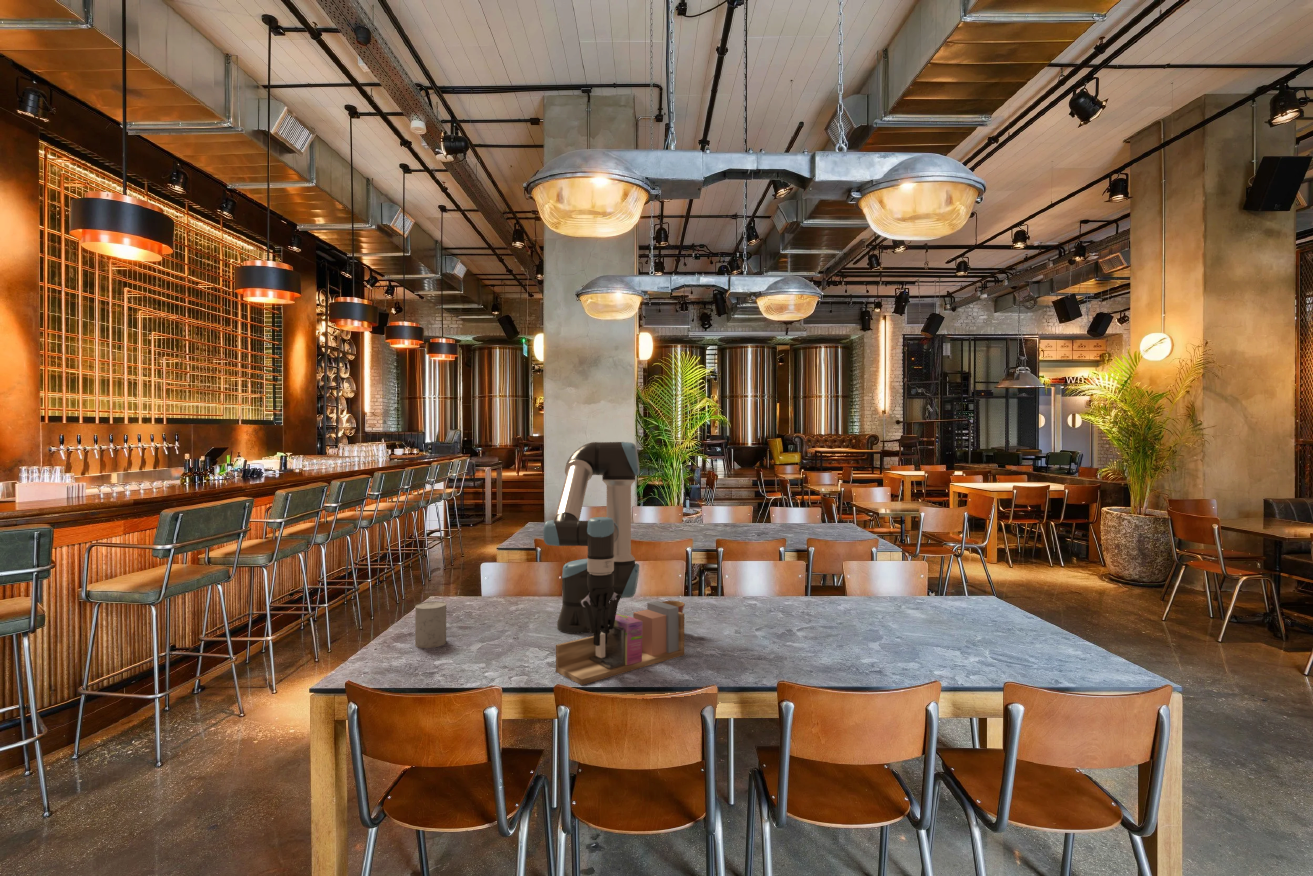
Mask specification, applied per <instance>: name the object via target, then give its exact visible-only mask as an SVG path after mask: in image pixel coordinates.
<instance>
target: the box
mask: <svg viewBox="0 0 1313 876" xmlns="http://www.w3.org/2000/svg"><path fill="white" fill-rule="evenodd" d="M614 626H617V627H620V628H623V629H625V665H626V666H628V665H632V664H636V663H639V662H642V621H640V620H638V619H635V618H633V617H632V616H630V615H626V614H623V613H616V617H615V622H614Z"/></svg>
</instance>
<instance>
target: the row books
mask: <svg viewBox="0 0 1313 876" xmlns="http://www.w3.org/2000/svg"><path fill="white" fill-rule="evenodd" d="M646 606H647V607H646V608H647V609H643V610H639V611H634V612H632V614H633V615H632V616H633V617H632V618H635V619H638V620H640V621H642V652H643V653H645V654H648V655H650V656H655V655H658V654H662V653H666V652H667V653H671V652H674V651H678V650H679V624H678V607H676V606H673V605H669V604H666V603H663V601H659V600H655V601H650V602H647V604H646Z"/></svg>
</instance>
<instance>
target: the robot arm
mask: <svg viewBox="0 0 1313 876" xmlns="http://www.w3.org/2000/svg"><path fill="white" fill-rule="evenodd" d="M639 459H640V458H639V455H638V450H637V445H635V443H633V442H629V441H626V442H625V441H612V442H611V441H609V442H608V441H605V442H603V441H602V442H601V441H600V442H599V441H592V442H587V443H586V444H583V445H582V446H580V447H578V449H576V450H575V451H574V452H573V453H572V454H571V455H570V456H569V458H568V459H567V462H566V464H565V467H564V473H565V479H564V483H563V486H562V490H561V493H560V497H559V500H558V504H557V508H556V511H555V514H554V515H555V516H554V519H551V520H546V521H545V522H544V525H543V529H542V530H543V531H542V535H543V537H542V538H543V542H544V543H545V544H546V545H547V546H554V547H555V546H557V547H574V546H575V547H587V558H582V559H581V558H580V559H577V560H572V561H568V562H567V563H565V564H564V565H563V567H562V575H561V580H562V585H561V586H562V589H561V590H562V594H561V597H562V600H561V601H562V605H561V609H560V612H559V615H558V618H557V622H556V623H557V624H556V629H557V630H558V631H560V632H563V633H567V634H586V633H587V634H588V633H590V634H593V636H594V645H596V656H598V657H600V658H603V657H605V644H607V634H608V633H609V632H610V631H609V630H610V629H613V627H614V622H615V617H616V614H617V611H618V606H619V605H618V604H619V603H620V600H621V599H629V598H631V599H632V598H633V597H634V596H635V595H636V593H637V587H638V581H639V575H640V574H639V573H640V564H639V563H636V558H635V557H634V555H633V554H632V485H633V484H634V483H635V481H636V476H637V477H638V476H639V475H640V472H641V471H640V460H639ZM593 476H602V482H603V483H604V484H605V485H606V516H597V517H590V518H589V519H588V520H580V518H581V514H582V509H583V506H584V500H585V496H586V492H587V487H588V483H589V481H590V480H591V478H592V477H593Z"/></svg>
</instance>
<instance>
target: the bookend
mask: <svg viewBox="0 0 1313 876" xmlns="http://www.w3.org/2000/svg"><path fill="white" fill-rule="evenodd" d="M609 631H610V632H609V633H608V634H607V644H605V657H603V658H600V657H598V656H592V657H590V660H591V661H593V662H595V663H597V664H600V665H602V666H604V667H606V668H608V669H613V668H617V667H620V666H624V665H625V629H623V628H620V627H617V626H614V627H613V629H610V630H609Z"/></svg>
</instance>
